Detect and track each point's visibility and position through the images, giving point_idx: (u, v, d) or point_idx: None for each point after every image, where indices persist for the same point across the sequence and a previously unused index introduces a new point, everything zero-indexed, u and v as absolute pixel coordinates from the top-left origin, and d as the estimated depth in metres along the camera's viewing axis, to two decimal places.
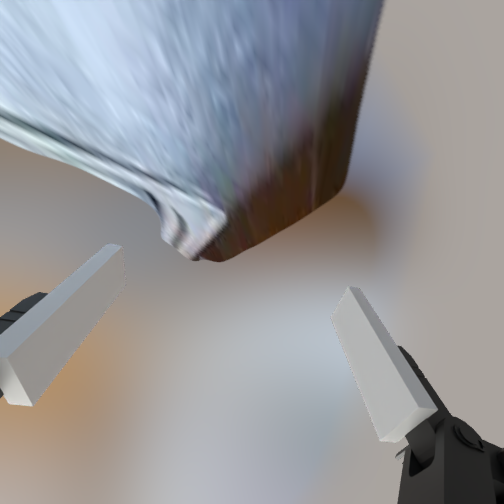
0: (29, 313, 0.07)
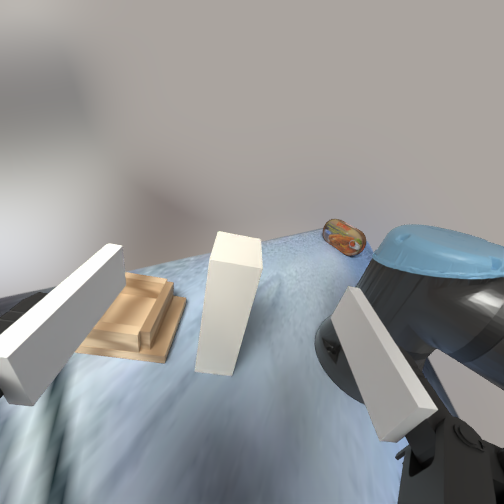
0: (29, 313, 0.07)
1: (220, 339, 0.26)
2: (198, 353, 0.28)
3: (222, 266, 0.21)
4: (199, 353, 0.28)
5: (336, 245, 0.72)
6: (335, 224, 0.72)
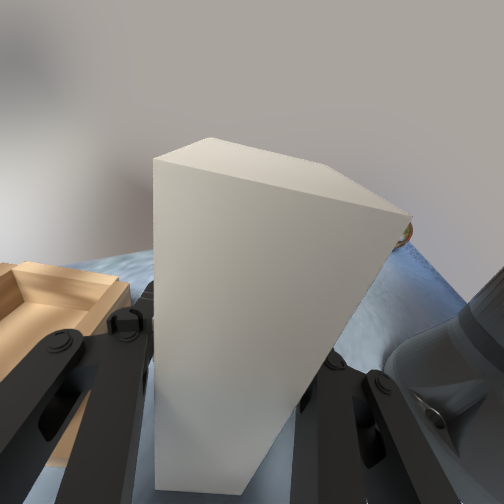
0: None
1: (215, 439, 0.09)
2: (158, 463, 0.11)
3: (218, 206, 0.04)
4: (161, 463, 0.11)
5: None
6: None
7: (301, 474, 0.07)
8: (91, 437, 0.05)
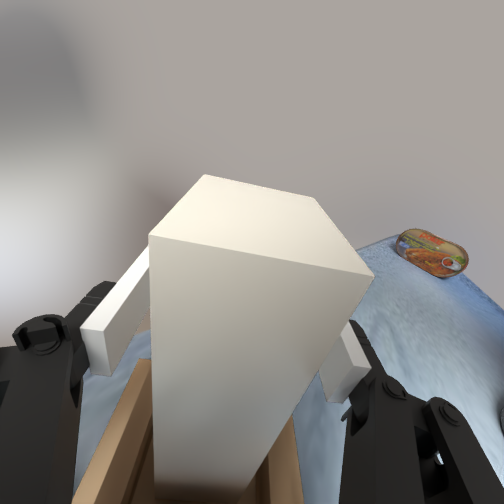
0: (108, 297, 0.09)
1: (210, 454, 0.10)
2: (157, 475, 0.12)
3: (205, 268, 0.05)
4: (160, 475, 0.11)
5: (418, 262, 0.56)
6: (417, 235, 0.56)
7: (352, 498, 0.06)
8: (0, 467, 0.05)
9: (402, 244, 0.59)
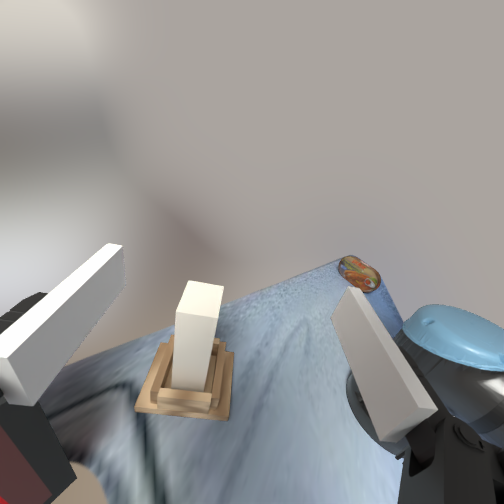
0: (29, 313, 0.07)
1: (190, 367, 0.32)
2: (173, 378, 0.33)
3: (186, 316, 0.27)
4: (174, 378, 0.33)
5: (352, 281, 0.78)
6: (351, 261, 0.78)
7: None
8: None
9: (342, 266, 0.81)
